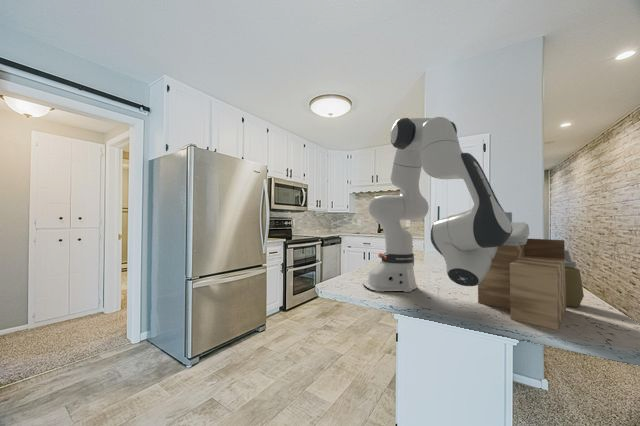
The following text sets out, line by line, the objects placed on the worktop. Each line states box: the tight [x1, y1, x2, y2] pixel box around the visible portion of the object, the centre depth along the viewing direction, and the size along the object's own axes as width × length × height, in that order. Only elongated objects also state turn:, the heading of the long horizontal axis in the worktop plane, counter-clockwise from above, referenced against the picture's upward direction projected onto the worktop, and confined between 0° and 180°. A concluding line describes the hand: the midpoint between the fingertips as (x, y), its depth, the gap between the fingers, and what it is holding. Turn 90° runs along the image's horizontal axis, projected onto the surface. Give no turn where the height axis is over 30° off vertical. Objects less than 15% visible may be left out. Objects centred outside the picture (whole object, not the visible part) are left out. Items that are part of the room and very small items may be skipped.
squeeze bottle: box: [565, 249, 585, 308], centre depth 86 cm, size 8×8×18 cm
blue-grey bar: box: [504, 211, 513, 222], centre depth 86 cm, size 19×4×5 cm, turn 132°
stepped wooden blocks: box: [477, 237, 567, 331], centre depth 83 cm, size 23×21×26 cm
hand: (491, 218), depth 82 cm, fingers closed on blue-grey bar, 4 cm apart
